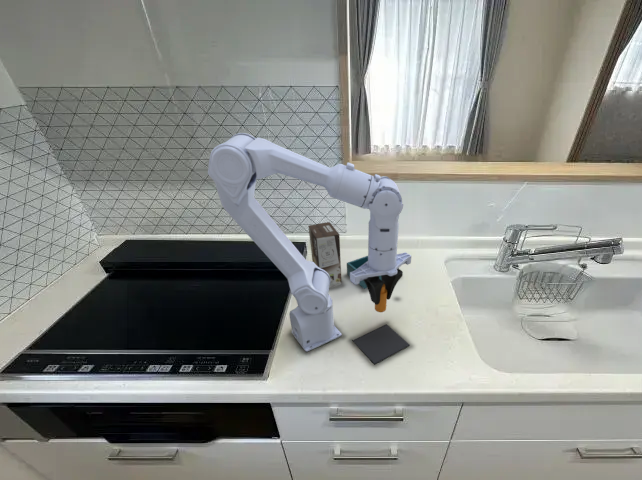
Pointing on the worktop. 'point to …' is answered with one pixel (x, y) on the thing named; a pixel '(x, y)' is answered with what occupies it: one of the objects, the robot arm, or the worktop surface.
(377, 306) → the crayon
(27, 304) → the worktop surface
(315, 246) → the coffee box
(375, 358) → the mat
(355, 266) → the teal open bin
